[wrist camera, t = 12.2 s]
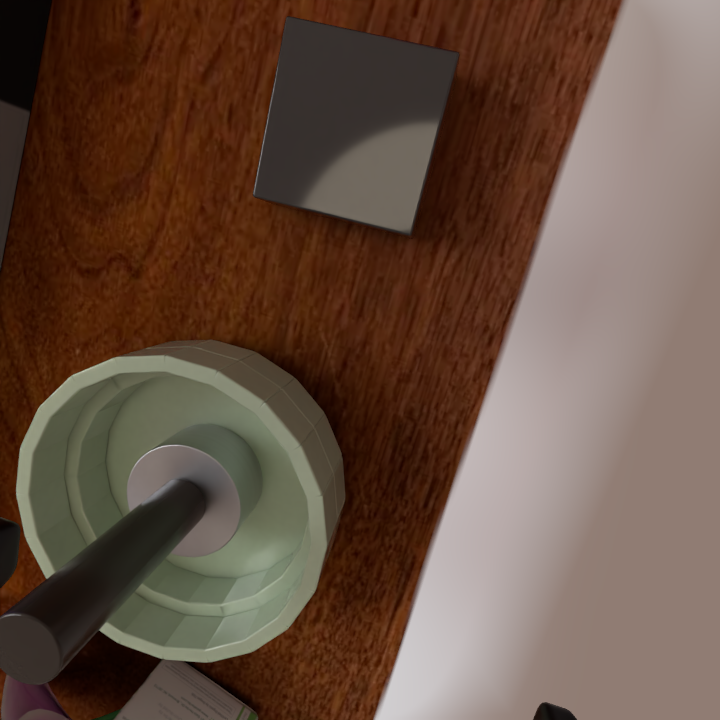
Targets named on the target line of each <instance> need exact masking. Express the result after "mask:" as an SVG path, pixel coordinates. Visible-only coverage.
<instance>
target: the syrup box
mask: <svg viewBox="0 0 720 720" xmlns="http://www.w3.org/2000/svg"><path fill="white" fill-rule="evenodd" d="M114 720H258V716H257V713H256V712H255V711H254V710H252V709H251V708H249V707H248V706H247V705H245V704H244V703H243V702H241V701H240V700H238V699H237V698H235V697H234V696H233V695H231V694H230V693H228V692H227V691H226V690H224V689H223V688H222V687H220V686H219V685H217V684H216V683H214V682H213V681H211V680H210V679H209V678H207V677H206V676H204V675H203V674H201V673H200V672H198V671H197V670H195V669H194V668H193V667H191V666H190V665H188V664H187V663H185V662H184V661H175V660H164V659H162V660H161V661H160V662H159V664H158V665H157V666H156V667H155V669H154V670H153V671H152V672H151V673H150V675H149V676H148V677H147V678H146V680H145V681H144V682H143V683H142V685H141V686H140V687H139V688H138V690H137V691H136V692H135V693H134V694H133V696H132V697H131V698H130V699H129V701H128V702H127V703H126V704H125V706H124V707H123V708H122V709H121V711H120V712H119V713H118V715H117V716H116V717H115V718H114Z"/></svg>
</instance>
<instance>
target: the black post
mask: <svg viewBox="0 0 720 720" xmlns="http://www.w3.org/2000/svg"><path fill="white" fill-rule="evenodd" d="M262 485H263V478H262V471H261V467H260V464H259V461H258V459H257V457H256V455H255V453H254V452H253V450H252V449H251V447H250V446H249V445H248V444H247V443H246V442H245V441H244V440H243V439H242V438H241V437H240V436H238V435H237V434H235V433H234V432H232V431H230V430H228V429H226V428H223V427H220V426H216V425H210V424H199V425H193V426H190V427H187V428H185V429H183V430H181V431H179V432H178V433H176V434H175V435H173V436H172V437H170V438H168V439H167V440H165V441H164V442H162V443H161V444H159V445H158V446H156V447H155V448H153V449H151V450H150V451H148V452H147V453H146V454H144V455H143V456H142V457H141V458H140V459H139V460H138V461H137V463H136V464H135V465H134V467H133V469H132V471H131V473H130V476H129V479H128V484H127V501H128V506H129V510H130V512H129V513H128V514H127V515H126V516H124V517H123V518H122V519H121V520H119V521H118V522H117V523H116V524H114V525H113V526H112V527H111V528H109V529H108V530H107V531H106V532H104V533H103V534H102V535H101V536H99V537H98V538H97V539H96V540H95V541H93V542H92V543H91V544H90V545H88V546H87V547H86V548H85V549H83V550H82V551H81V552H80V553H78V554H77V555H76V556H75V557H73V558H72V559H71V560H70V561H68V562H67V563H66V564H65V565H63V566H62V567H61V568H60V569H59V570H57V571H56V572H55V573H54V574H52V575H51V576H50V577H49V578H47V579H46V580H45V581H44V582H42V583H41V584H40V585H39V586H37V587H36V588H35V589H34V590H32V591H31V592H30V593H29V594H27V595H26V596H25V597H24V598H23V599H21V600H20V601H19V602H18V603H16V604H15V605H14V606H13V607H11V608H10V609H9V610H8V611H6V612H5V613H4V614H3V615H1V616H0V668H1V669H2V670H3V671H4V672H5V673H6V674H7V675H9V676H10V677H12V678H13V679H15V680H17V681H19V682H22V683H25V684H30V685H40V684H45V683H47V682H49V681H51V680H53V679H54V678H55V677H56V676H57V675H58V674H59V673H60V672H61V671H62V670H63V669H64V668H65V667H66V666H67V665H68V663H69V662H70V661H71V660H72V659H73V658H74V657H75V656H76V655H77V654H78V653H79V652H80V650H81V649H82V648H83V647H84V646H85V645H86V644H87V643H88V642H89V641H90V640H91V639H92V637H93V636H94V635H95V634H96V633H97V632H98V631H99V630H100V629H101V628H102V627H103V626H104V624H105V623H106V622H107V621H108V620H109V619H110V618H111V617H112V616H113V615H114V614H115V612H116V611H117V610H118V609H119V608H120V607H121V606H122V605H123V604H124V603H125V602H126V601H127V599H128V598H129V597H130V596H131V595H132V594H133V593H134V592H135V591H136V590H137V589H138V588H139V586H140V585H141V584H142V583H143V582H144V581H145V580H146V579H147V578H148V577H149V576H150V575H151V573H152V572H153V571H154V570H155V569H156V568H157V567H158V566H159V565H160V564H161V563H162V562H163V560H164V559H165V558H166V557H167V556H168V555H169V554H170V553H172V554H175V555H178V556H183V557H201V556H206V555H209V554H212V553H214V552H216V551H218V550H220V549H221V548H223V547H224V546H225V545H226V544H227V543H228V542H229V541H230V540H231V539H232V537H233V536H234V535H235V533H236V532H237V531H238V529H239V528H240V527H241V525H242V524H243V523H244V521H245V520H246V519H247V517H248V516H249V515H250V513H251V512H252V511H253V509H254V508H255V506H256V505H257V503H258V501H259V499H260V496H261V492H262Z"/></svg>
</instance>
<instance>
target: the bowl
mask: <svg viewBox="0 0 720 720" xmlns="http://www.w3.org/2000/svg"><path fill="white" fill-rule="evenodd" d="M199 424H210V425H216V426H220V427H223V428H226V429H228V430H230V431H232V432H234V433H235V434H237V435H238V436H240V437H241V438H242V439H243V440H244V441H245V442H246V443H247V444H248V445H249V446H250V447H251V449H252V450H253V452H254V453H255V455H256V457H257V459H258V461H259V464H260V467H261V471H262V478H263V485H262V492H261V496H260V499H259V501H258V503H257V505H256V506H255V508H254V509H253V511H252V512H251V513H250V515H249V516H248V517H247V519H246V520H245V521H244V523H243V524H242V525H241V527H240V528H239V529H238V531H237V532H236V533H235V535H234V536H233V537H232V539H231V540H230V541H229V542H228V543H227V544H226V545H225V546H224V547H223V548H221V549H220V550H218V551H216V552H214V553H212V554H209V555H206V556H201V557H183V556H178V555H175V554H172V553H170V554H169V555H168V556H167V557H166V558H165V559H164V560H163V562H162V563H161V564H160V565H159V566H158V567H157V568H156V569H155V570H154V571H153V572H152V573H151V575H150V576H149V577H148V578H147V579H146V580H145V581H144V582H143V583H142V584H141V585H140V586H139V588H138V589H137V590H136V591H135V592H134V593H133V594H132V595H131V596H130V597H129V598H128V599H127V601H126V602H125V603H124V604H123V605H122V606H121V607H120V608H119V609H118V610H117V611H116V612H115V614H114V615H113V616H112V617H111V618H110V619H109V620H108V621H107V622H106V623H105V624H104V626H103V627H102V628H101V629H100V630H99V631H100V632H102V633H103V634H105V635H106V636H108V637H109V638H111V639H112V640H114V641H115V642H117V643H120V644H121V645H124V646H126V647H129V648H132V649H135V650H138V651H140V652H143V653H146V654H149V655H152V656H154V657H157V658H160V659H164V660H175V661H189V662H204V663H208V662H214V661H218V660H223V659H227V658H231V657H235V656H239V655H243V654H247V653H251V652H253V651H255V650H257V649H258V648H260V647H261V646H263V645H264V644H266V643H267V642H269V641H270V640H272V639H273V638H275V637H276V636H278V635H279V634H281V633H282V632H284V631H286V630H287V629H288V628H289V627H290V626H291V625H292V623H293V622H294V621H295V619H296V618H297V617H298V615H299V614H300V612H301V611H302V610H303V608H304V607H305V605H306V604H307V603H308V601H309V600H310V599H311V597H312V596H313V594H314V593H315V591H316V589H317V586H318V583H319V580H320V578H321V575H322V572H323V570H324V567H325V564H326V561H327V559H328V556H329V553H330V550H331V548H332V545H333V542H334V539H335V537H336V533H337V529H338V526H339V522H340V518H341V514H342V511H343V507H344V503H345V484H344V471H343V458H342V453H341V451H340V448H339V446H338V443H337V441H336V439H335V436H334V434H333V431H332V429H331V427H330V424H329V422H328V419H327V417H326V415H325V413H324V412H323V410H322V409H321V408H320V407H319V406H318V404H317V403H316V402H315V401H314V399H313V398H312V397H311V396H310V395H309V393H308V392H307V391H306V390H305V389H304V387H303V386H302V385H301V384H300V383H299V381H298V380H297V379H296V378H294V377H293V376H292V375H290V374H289V373H287V372H286V371H284V370H283V369H281V368H280V367H278V366H277V365H275V364H274V363H272V362H271V361H269V360H268V359H266V358H265V357H263V356H261V355H260V354H258V353H256V352H254V351H251V350H247V349H244V348H240V347H237V346H233V345H230V344H226V343H223V342H219V341H216V340H191V341H171V342H167V343H163V344H160V345H156V346H153V347H149V348H145V349H142V350H139V351H135V352H132V353H128V354H125V355H121V356H118V357H114V358H112V359H109V360H107V361H104V362H102V363H100V364H97V365H95V366H92V367H90V368H88V369H85V370H83V371H80V372H78V373H76V374H73V375H72V376H70V377H69V378H68V379H67V380H66V381H65V382H64V383H63V384H62V385H61V386H60V387H59V388H58V389H57V390H56V391H55V392H54V393H53V394H52V395H51V396H50V397H49V398H48V399H47V400H46V401H45V402H43V403H42V404H41V405H40V407H39V408H38V410H37V412H36V414H35V416H34V418H33V421H32V423H31V425H30V427H29V429H28V431H27V434H26V436H25V438H24V440H23V442H22V444H21V448H20V452H19V463H18V474H17V484H16V492H17V493H16V497H17V501H18V506H19V511H20V516H21V520H22V525H23V530H24V535H25V538H26V541H27V543H28V545H29V547H30V549H31V550H32V552H33V554H34V556H35V558H36V560H37V562H38V564H39V566H40V568H41V570H42V572H43V574H44V576H45V578H46V579H47V578H49V577H50V576H51V575H52V574H54V573H55V572H56V571H57V570H59V569H60V568H61V567H62V566H63V565H65V564H66V563H67V562H68V561H70V560H71V559H72V558H73V557H75V556H76V555H77V554H78V553H80V552H81V551H82V550H83V549H85V548H86V547H87V546H88V545H90V544H91V543H92V542H93V541H95V540H96V539H97V538H98V537H99V536H101V535H102V534H103V533H104V532H106V531H107V530H108V529H109V528H111V527H112V526H113V525H114V524H116V523H117V522H118V521H119V520H121V519H122V518H123V517H124V516H126V515H127V514H128V513H129V512H130V510H129V506H128V501H127V484H128V479H129V476H130V473H131V471H132V469H133V467H134V465H135V464H136V463H137V461H138V460H139V459H140V458H141V457H142V456H143V455H144V454H146V453H147V452H148V451H150V450H151V449H153V448H155V447H156V446H158V445H159V444H161V443H162V442H164V441H165V440H167V439H168V438H170V437H172V436H173V435H175V434H176V433H178V432H179V431H181V430H183V429H185V428H187V427H190V426H193V425H199Z"/></svg>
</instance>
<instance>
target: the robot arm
mask: <svg viewBox="0 0 720 720" xmlns="http://www.w3.org/2000/svg"><path fill="white" fill-rule="evenodd" d="M19 540H20V527H19V525H18V524H17V523H16V522H13V521H10V520H7V519H4V518H1V517H0V588H1V587H2V586H3V585H4V584H5V583H6V582H7V581H8V580H9V578H10V577H11V576H12V574H13V572H14V570H15V568H16V565H17V560H18V550H19ZM533 720H577V719H576V718H575V716H574V715H573V714H572V713H571V712H570V711H569V710H567V709H565V708H562V707H559V706H556V705H553V704H550V703H547V702H545V703H542V704H540V706H539V707H538V709H537V711H536V714H535V716H534V719H533Z"/></svg>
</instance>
